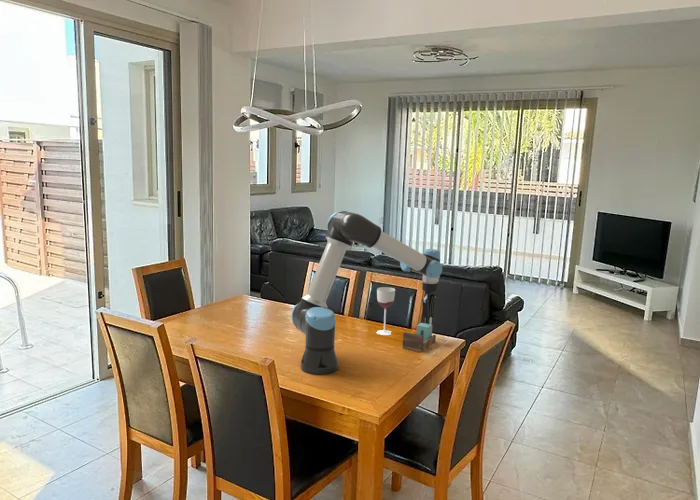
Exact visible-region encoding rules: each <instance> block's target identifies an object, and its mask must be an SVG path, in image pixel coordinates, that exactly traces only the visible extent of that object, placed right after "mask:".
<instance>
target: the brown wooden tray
mask: <svg viewBox="0 0 700 500" xmlns="http://www.w3.org/2000/svg"><path fill="white" fill-rule="evenodd" d="M436 335H437V334H436ZM436 335H435V334H432V337H430V338H428V339H427V340H425V341H423V338H424V336H422V335H417V332H416V333H412V332H407V331H404V332H403V335H402V349H404V350H407V349H408V351H413V352H416V351H417V352H418V353H423V352H424V351H425V350H427V349H428V348H429V346H430V347H431V346H433V345H434V344H436V341H437V340H436V339H437V338H436V337H437V336H436ZM432 344H433V345H432ZM426 348H427V349H426ZM417 352H416V353H417Z"/></svg>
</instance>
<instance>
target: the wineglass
mask: <svg viewBox="0 0 700 500" xmlns="http://www.w3.org/2000/svg"><path fill="white" fill-rule="evenodd" d="M395 295H396V289H395V288H394V287H388V286H383V287H378V288H376V299H377V303H378V305H379V306H380V307H382V308H383V309H384V312H383V313H384V314H383V329H379V330H377V332H375V333H376V334H377V335H381V336H391V335H392V334H391V332H392V331H391V330H387V329H386V323H387V322H386V321H387V319H386V318H387V309H388V308H389V307H391V306H392V305H393V304H394V302H395Z"/></svg>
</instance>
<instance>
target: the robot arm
mask: <svg viewBox="0 0 700 500" xmlns="http://www.w3.org/2000/svg"><path fill="white" fill-rule="evenodd" d="M326 228H327V232H326V233H327V234H326V235H325V239H326V240H327V243H326V245H325V248H324V249H323V250H324V251H323V252H322V256H321V257H320V260H319V263H318V266H317V267H316V270H315V273H314V275H313V278H312V281H311V283H310V286H309V288H308V290H307V293H306V294H305V295H303V296H302V297H301V298H300V301H299V302H298V303H297V304H295V306H294V307H292V310H291V313H290V314H291V315H290V318H291V321H292V324H293V325H294V327H295V328H296V329H297V330H298V331H300V332H301V333H303V334H304V335H305V347H304V351H303V355H302V357H301V361H300V369H301V370H302V371H303V372H305V373H308V374H314V375H328V374H331V373H333V372H336V371H337V370H338V369H339V360H338V357H337V354H336V350H335V338H336V314H335V312H334V311H333V310H331V309H329V308H328V305H327V299H328V297H329V295H330V292H331V289H332V287H333V284H334V282H335V279H336V276H337V275H338V272H339V269H340V267H341V265H342V262H343V259H344V257H345V254H346V251H347V250H348V249H351V248H352V246H353V243H357V244H360V245H363V246H365V247H366V248H368V249H369V248H370V249H371V248H374V249H375V250H377V251H380V252H381V253H383V254H385V255H387V256H389V257H390V258H392V259H394V260H396V261H398V262H399V265H400V268H401V270H402V271H403V272H408V273H410V272H413V273H414V272H415V273H417V274H420V275H422V280H421V281H422V283H421V285H422V286H421V289H422V291H424V295H423V296H424V297H423V298H421V302H422V315H423V316H422V317H423V318H424V323H425V324H431V325H432V320H433V318H435V316H434V314H435V309H436V301H437V298H438V294H436V292H438V291H439V280H440V278H441V277H440V276H441V275H442V272H443V265H442V264H441V251H440V250H439V249H434V248H427V249H424V251H423V253H421V252H419V250H416V249H414V248H413V247H411V246H409V245H407V244H405V243H404V242H402V241H400V240H398V239H396V238H395V237H393V236H391V235H390V234H387V233H386V232H384V231H382V228H381V226H379V225H378V224H376V223H374V222H372V221H371V220H369V219H368V218H366V217H365V216H363V215H361V214H359V213H355V212H351V211H348V210H341V211H339V210H338V211H336V212H334V213H332V214H331V215H330V217H328V220H327V223H326Z"/></svg>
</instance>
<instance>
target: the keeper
mask: <svg viewBox="0 0 700 500" xmlns="http://www.w3.org/2000/svg"><path fill="white" fill-rule="evenodd" d="M416 333H417V335H422V336H424V338H423V341H425V340H427V339H428V338H430V337H432V336H433V324H432V323H431V324H425V322H420V323H418V324H417V325H416Z"/></svg>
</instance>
